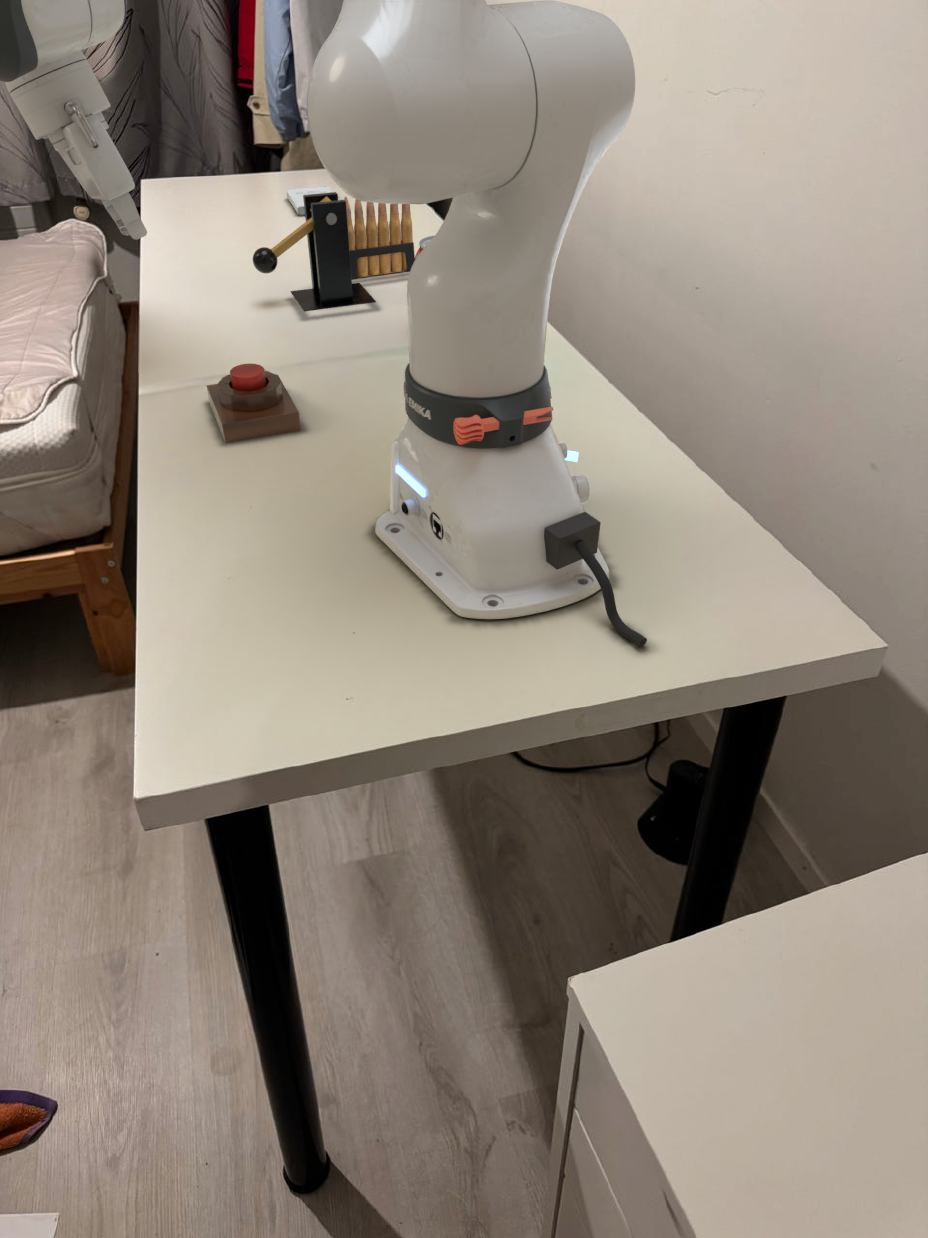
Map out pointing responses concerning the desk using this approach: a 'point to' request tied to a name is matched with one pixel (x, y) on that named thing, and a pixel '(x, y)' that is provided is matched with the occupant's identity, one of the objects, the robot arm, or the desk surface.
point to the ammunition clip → (380, 241)
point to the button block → (253, 409)
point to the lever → (280, 247)
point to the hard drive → (297, 197)
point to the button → (248, 377)
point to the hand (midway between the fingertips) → (135, 235)
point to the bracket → (329, 257)
